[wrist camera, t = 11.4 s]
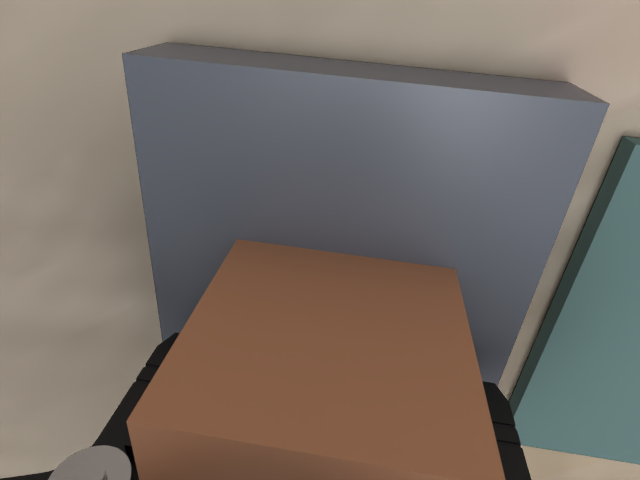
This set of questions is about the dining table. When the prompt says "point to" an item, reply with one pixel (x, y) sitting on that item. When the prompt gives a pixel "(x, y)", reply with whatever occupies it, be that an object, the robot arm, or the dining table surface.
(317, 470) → the block
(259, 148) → the channel
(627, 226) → the pad
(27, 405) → the dining table surface
